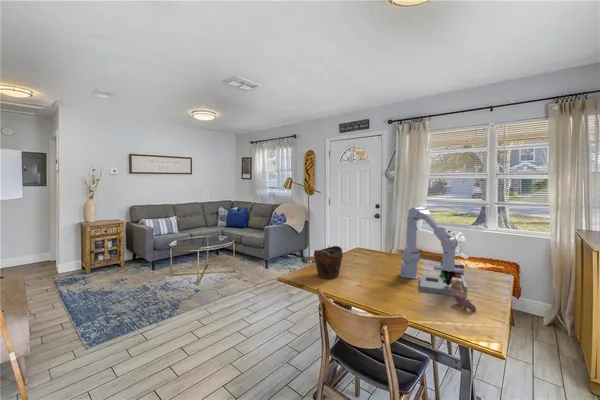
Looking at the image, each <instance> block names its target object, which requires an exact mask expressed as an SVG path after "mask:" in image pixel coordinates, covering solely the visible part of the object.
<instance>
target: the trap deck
mask: <svg viewBox="0 0 600 400" xmlns="http://www.w3.org/2000/svg"><path fill="white" fill-rule="evenodd" d="M460 278H461V279H462V290H461V289H454V288H452V286H451V282H452V279H451V281H450V285H446V279H445V278H443V277H442V276H434V275H433V276H432V275H424V274H420V282H419V291H421V292H426V293H427V292H428V293H436V294H441V295H447V296H453V295H455V294H457V293H458V294H461V295H463V296H465V298H466V299H468V285H467V283H466V280H465V277H463V275H461V276H460Z"/></svg>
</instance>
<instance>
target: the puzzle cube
mask: <svg viewBox="0 0 600 400" xmlns="http://www.w3.org/2000/svg"><path fill="white" fill-rule="evenodd" d="M440 266H443V259H441V260H440ZM455 268H459V269H464V270H465V265H464V264H463V263H462V262H460V261H458V260H455ZM464 274H465V273H464ZM464 274H462V273H456V272H454V276H453V278H460V276H461V275H463V277H464V276H465V275H464ZM439 275H440V277H441V278H445V276H444V274H443V271H440V273H439ZM464 278H465V277H464Z"/></svg>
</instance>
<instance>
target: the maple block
mask: <svg viewBox="0 0 600 400" xmlns="http://www.w3.org/2000/svg"><path fill="white" fill-rule="evenodd" d="M451 286H452V288H454V289H461V290H462V279H461V278H453V277H452V282H451Z"/></svg>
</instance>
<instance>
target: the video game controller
mask: <svg viewBox="0 0 600 400" xmlns="http://www.w3.org/2000/svg"><path fill="white" fill-rule="evenodd" d="M452 297H453V300H454V301H455V302H456V303H457V304H458V306H459V307H460V306H461V307H462V308H463V309H465V310H466V309H469V310H470V311H472V312H475V311H477V308H476V306H475V305H474V304H473V303H471V301H470V300H469V299H468V298H466V297H465V296H463V295H461V294H458V293H457V294H455V295H452Z"/></svg>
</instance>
